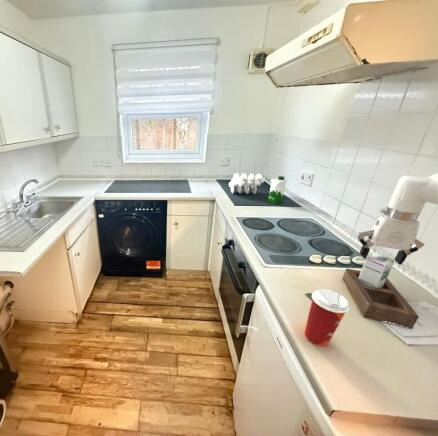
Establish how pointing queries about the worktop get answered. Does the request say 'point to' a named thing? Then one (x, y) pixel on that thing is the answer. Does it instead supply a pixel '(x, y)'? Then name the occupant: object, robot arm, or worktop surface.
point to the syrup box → (375, 270)
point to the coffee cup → (324, 316)
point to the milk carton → (276, 190)
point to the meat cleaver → (309, 295)
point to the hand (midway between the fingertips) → (380, 259)
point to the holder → (380, 301)
